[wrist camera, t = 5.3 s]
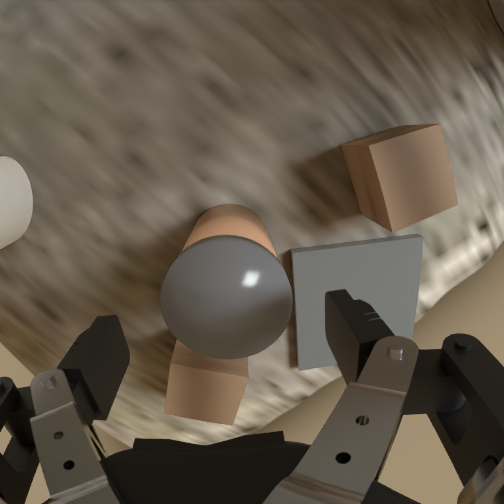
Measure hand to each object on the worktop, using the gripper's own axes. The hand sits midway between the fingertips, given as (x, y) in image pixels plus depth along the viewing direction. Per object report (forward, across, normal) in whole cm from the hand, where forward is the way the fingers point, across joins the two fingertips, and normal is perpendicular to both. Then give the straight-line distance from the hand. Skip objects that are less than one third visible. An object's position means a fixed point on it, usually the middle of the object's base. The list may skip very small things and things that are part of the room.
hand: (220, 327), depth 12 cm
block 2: (+10, -11, -4) cm, 16 cm away
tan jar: (+10, 0, 0) cm, 10 cm away
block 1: (+11, +3, +9) cm, 14 cm away
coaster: (+10, -9, +6) cm, 15 cm away
